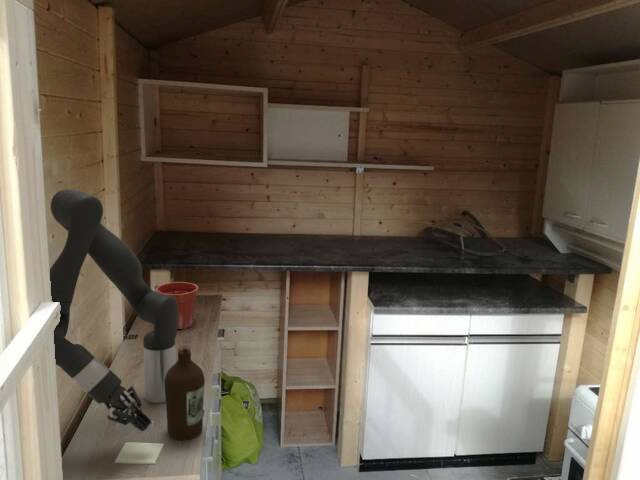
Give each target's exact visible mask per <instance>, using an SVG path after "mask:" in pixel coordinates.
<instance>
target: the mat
mask: <svg viewBox="0 0 640 480" xmlns="http://www.w3.org/2000/svg"><path fill="white" fill-rule="evenodd" d="M164 445H165V444H164V443H159V442H157V443H154V442H134V441H133V442H132V441H131V442H127V441H126V442H125V443H124V445H123V446H122V449H121V450H120V452H119V454H118V455H117V457H116V458H115V460H114V464H131V465H132V464H135V465H156V463H157V461H158V459H159V456H160V455H161V452H162V450H163V448H164Z"/></svg>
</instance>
